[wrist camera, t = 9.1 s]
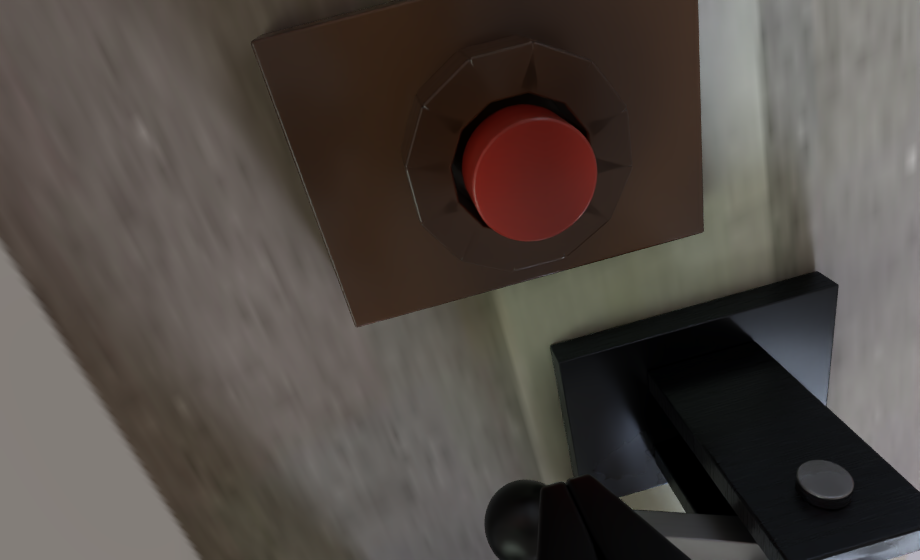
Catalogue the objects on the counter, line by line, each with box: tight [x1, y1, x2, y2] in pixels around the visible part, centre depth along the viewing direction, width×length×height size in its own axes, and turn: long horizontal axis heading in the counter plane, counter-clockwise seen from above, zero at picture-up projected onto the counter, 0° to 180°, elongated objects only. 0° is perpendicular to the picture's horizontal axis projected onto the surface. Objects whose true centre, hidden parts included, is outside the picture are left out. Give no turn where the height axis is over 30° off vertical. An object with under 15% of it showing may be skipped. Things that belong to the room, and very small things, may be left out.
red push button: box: [462, 104, 597, 241], centre depth 15 cm, size 3×3×2 cm
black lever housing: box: [550, 271, 920, 560], centre depth 21 cm, size 11×8×10 cm
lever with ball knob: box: [485, 480, 769, 560], centre depth 20 cm, size 12×3×3 cm, turn 103°
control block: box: [251, 0, 704, 327], centre depth 17 cm, size 12×9×4 cm
